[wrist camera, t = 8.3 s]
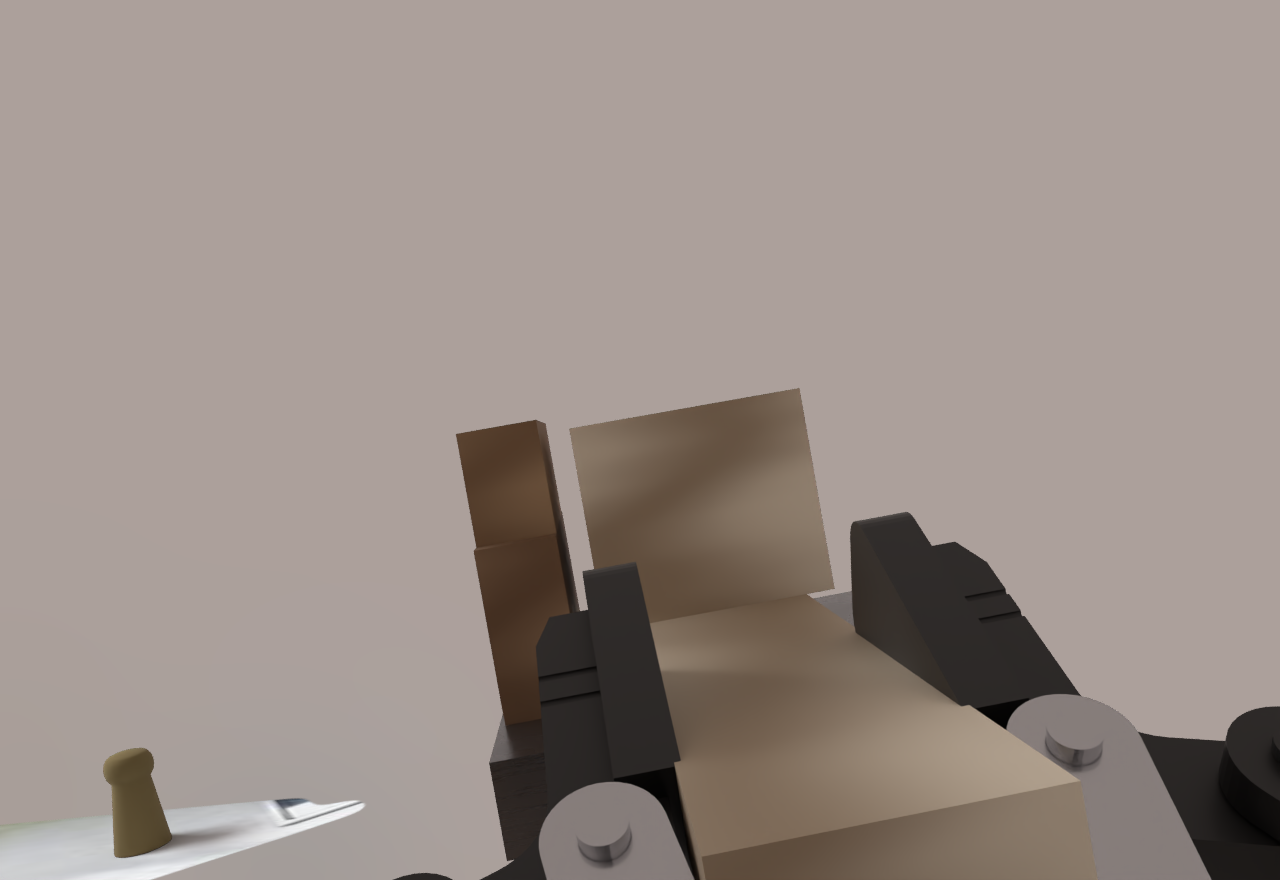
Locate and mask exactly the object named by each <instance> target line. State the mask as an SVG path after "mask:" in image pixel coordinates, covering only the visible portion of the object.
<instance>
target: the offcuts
mask: <svg viewBox="0 0 1280 880" xmlns="http://www.w3.org/2000/svg"><path fill="white" fill-rule="evenodd" d="M456 437H457V442H458V448H459V453H460V458H461V465H462V470H463V476H464V481H465V487H466V492H467V498H468V503H469V509H470V514H471V520H472V525H473V530H474V536H475V542H476V547H477V548H476V549H475V550H474V555H475V561H476V567H477V571H478V578H479V583H480V589H481V594H482V599H483V605H484V610H485V616H486V622H487V627H488V633H489V638H490V644H491V649H492V655H493V660H494V666H495V671H496V677H497V683H498V688H499V694H500V699H501V704H502V710H503V716H504V721H505V726H506V725H511V724H516V723H521V722H527V721H532V720H537V719H541V704H540V694H539V679H538V669H537V657H536V645H537V643H538V641H539V639H540V636H541V634H542V632H543V630H544V628H545V626H546V624H547V621H548V619H549V617H553V616H558V615H563V614H569V613H574V612H579V611H580V610H579V604H578V599H577V593H576V587H575V582H574V576H573V571H572V566H571V559H570V554H569V548H568V543H567V538H566V532H565V526H564V521H563V515H562V511H561V508H560V503H559V497H558V491H557V486H556V480H555V475H554V469H553V463H552V458H551V452H550V446H549V441H548V435H547V430H546V424H545V423H542V422H540V421H537V420H533V421H527V422H521V423H516V424H510V425H504V426H499V427H493V428H488V429H482V430H476V431H471V432H465V433H460V434H456Z"/></svg>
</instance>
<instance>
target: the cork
mask: <svg viewBox="0 0 1280 880" xmlns="http://www.w3.org/2000/svg"><path fill="white" fill-rule="evenodd" d="M153 768H154V760H153V757H152V754H151V753H150V752H149V751H148V750H147V749H145V748H134V749H128V750H125V751H121V752H119V753H116V754H114V755H112V756H110V757H109V758H108V759H107V760H106V761H105V764H104V767H103V773H104V777H105V779H106V781H107V782H108V783H109V784H111V785H112V807H113V834H114V855H115V857H119V858H122V857H131V856H136V855H140V854H144V853H147V852H149V851H152V850H155V849H157V848H159V847H161V846H163V845H165V844H167V843H168V842H169V841H170V840H171V839H172V836H171V833H170V830H169V827H168V824H167V821H166V818H165V815H164V812H163V809H162V807H161V804H160V801H159V798H158V795H157V792H156V789H155V786H154V783H153V780H152V777H151V772H152V770H153Z"/></svg>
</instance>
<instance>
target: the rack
mask: <svg viewBox="0 0 1280 880" xmlns="http://www.w3.org/2000/svg"><path fill="white" fill-rule="evenodd" d="M814 600H816V601H817V602H819V603H820V604H822V605H823V606H825V607H826V608H827V609H829V610H830V611H832V612H833V613H835V614H836V615H838V616H839V617H841V618H842V619H844V620H845V621H847V622H848V623H850V624H851V625H852V626H854V620H853V610H852V591H851V592H846V593H841V594H835V595H830V596H825V597H820V598H814ZM854 627H855V626H854ZM489 764H490V770H491V775H492V781H493V786H494V792H495V797H496V803H497V808H498V814H499V819H500V825H501V830H502V836H503V841H504V847H505V853H506V858H507V861H510V860H515V859H516V858H518V857H519V856H520V855H521V854H522V853H523V852H524V851H525V850H526V849H527V848H528V847H529V846H530V845H531V843H532V842H533V841H534V839H535V838H536V837H537V835H538V833H539V831H540V830H541V828H542V825H543V823H544V820H545V818H546V813H547V808H548V796H547V783H546V770H545V758H544V745H543V732H542V720H541V719H537V720H532V721H527V722H521V723H516V724H511V725H506V726H505V721H504V716H502V719H501V723H500V726H499V730H498V734H497V737H496V741H495V745H494V748H493V752H492V755H491V759H490V762H489Z"/></svg>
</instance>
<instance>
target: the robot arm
mask: <svg viewBox="0 0 1280 880" xmlns="http://www.w3.org/2000/svg"><path fill="white" fill-rule="evenodd" d="M850 534H851V535H850V542H851V578H852V610H853V620H854V626H855V632H856V633H857V634H858V635H860V636H861V637H863V638H864V639H865V640H867V641H868V642H870V643H871V644H873V645H874V646H875V647H877V648H878V649H880V650H881V651H883V652H884V653H885V654H887V655H888V656H890V657H891V658H893V659H894V660H895V661H897V662H898V663H900V664H901V665H903V666H904V667H905V668H907V669H908V670H910V671H911V672H913V673H914V674H915V675H917V676H918V677H920V678H921V679H923V680H924V681H925V682H927V683H928V684H930V685H931V686H933V687H934V688H935V689H937V690H938V691H940V692H941V693H943V694H944V695H945V696H947V697H948V698H950V699H951V700H952V701H954V702H955V703H957V704H958V705H960V706H966V705H970V706H971V707H973V708H974V709H976V710H977V711H979V712H980V713H982V714H983V715H985V716H986V717H988V718H989V719H991V720H992V721H994V722H995V723H996V724H998V725H999V726H1001V727H1002V728H1004V729H1005V730H1007V731H1008V732H1010V733H1011V734H1013V735H1014V736H1016V737H1017V738H1018V739H1020V740H1021V741H1023V742H1024V743H1026V744H1027V745H1029V746H1030V747H1032V748H1033V749H1035V750H1036V751H1038V752H1039V753H1041V754H1042V755H1043V756H1045V757H1046V758H1048V759H1049V760H1051V761H1052V762H1054V763H1055V764H1057V765H1058V766H1060V767H1061V768H1063V769H1064V770H1066V771H1067V772H1068V773H1070V774H1071V775H1073V776H1074V777H1076V778H1077V779H1079V780H1080V781H1081V786H1082V792H1083V798H1084V803H1085V809H1086V815H1087V821H1088V826H1089V832H1090V838H1091V844H1092V849H1093V855H1094V861H1095V867H1096V872H1097V878H1098V880H1280V707H1264V708H1259V709H1254V710H1251V711H1248V712H1246V713H1244V714H1242V715H1241V716H1239V717H1238V718H1237V719H1236V720H1235V721H1234V722H1232V724H1231V726H1230V727H1229V729H1228V732H1227V736H1226V741H1214V740H1200V739H1184V738H1168V737H1160V736H1153V735H1149V734H1144V733H1140V732H1138V731H1137V730H1136V729H1135V727H1134V726H1133V725H1132V724H1131V722H1130V721H1129V720H1128V719H1126V718H1125V717H1124V716H1123V715H1122V714H1120V713H1119V712H1118V711H1116V710H1114V709H1113V708H1111V707H1109V706H1107V705H1105V704H1103V703H1101V702H1098V701H1096V700H1093V699H1090V698H1086V697H1082V696H1081V695H1080V694H1079V693H1078V691H1077V690H1076V689H1075V687H1074V686H1073V684H1072V683H1071V681H1070V680H1069V678H1068V677H1067V676H1066V674H1065V673H1064V671H1063V670H1062V669H1061V667H1060V666H1059V664H1058V663H1057V661H1056V660H1055V659H1054V657H1053V656H1052V654H1051V653H1050V651H1049V650H1048V649H1047V647H1046V646H1045V644H1044V643H1043V642H1042V640H1041V639H1040V638H1039V636H1038V635H1037V633H1036V632H1035V630H1034V629H1033V627H1032V626H1031V625H1030V623H1029V622H1028V620H1027V619H1026V617H1025V616H1022V615H1021V611H1020V609H1019V607H1018V606H1017V605H1016V603H1015V602H1014V600H1013V599H1012V597H1011V596H1010V595H1009V594H1006V590H1005V587H1004V586H1003V585H1002V583H1001V582H1000V580H999V579H998V578H997V576H996V575H995V573H994V572H993V570H992V569H991V568H990V566H989V565H988V563H987V562H986V561H984V560H983V559H981V558H979V557H978V556H976V555H975V554H973V553H972V552H970V551H969V550H967V549H966V548H964V547H962V546H961V545H959V544H958V543H956V542H951V543H946V544H941V545H935V546H931V544H930V542H929V541H928V539H927V538H926V536H925V535H924V533H923V531H922V530H921V528H920V527H919V525H918V524H917V522H916V521H915V519H914V518H913V516H912V515H911V514H910V513H908V512H904V513H898V514H893V515H888V516H883V517H877V518H871V519H866V520H860V521H855V522H853V523H852V526H851V532H850ZM583 578H584V585H585V592H586V599H587V605H588V610H585V611H579V612H574V613H569V614H563V615H558V616H553V617H549V619H548V621H547V624H546V626H545V628H544V630H543V632H542V634H541V636H540V639H539V641H538V643H537V645H536V657H537V669H538V679H539V694H540V704H541V720H542V732H543V745H544V758H545V770H546V783H547V796H548V808H547V813H546V818H545V820H544V823H543V825H542V828H541V830H540V831H539V833H538V835H537V837H536V838H535V839H534V841H533V842H532V843H531V845H530V846H529V847H528V848H527V849H526V850H525V851H524V852H523V853H522V854H521V855H520V856H519V857H518V858H516V859H515V860H514V861H513V862H511V863H510V864H508V865H507V866H505V867H503V868H502V869H500V870H498V871H496V872H494V873H492V874H491V875H489V876H487V877H485V878H483V879H481V880H695V879H694V876H693V872H692V868H691V864H690V860H689V856H688V849H687V843H686V836H685V830H684V823H683V817H682V810H681V803H680V797H679V790H678V784H677V777H676V771H675V765H674V762H678V761H681V759H680V754H679V750H678V746H677V741H676V737H675V732H674V728H673V723H672V719H671V715H670V710H669V706H668V701H667V697H666V692H665V688H664V683H663V679H662V675H661V670H660V666H659V661H658V657H657V652H656V648H655V644H654V639H653V635H652V630H651V626H650V621H649V617H648V613H647V608H646V604H645V599H644V595H643V590H642V586H641V582H640V577H639V573H638V568H637V564H636V562H631V563H625V564H620V565H615V566H609V567H604V568H599V569H593V570H588V571H583ZM394 880H452V879H450V878H448V877H446V876H442V875H438V874H430V873H419V874H411V875H407V876H403V877H400V878H397V879H394Z"/></svg>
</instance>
